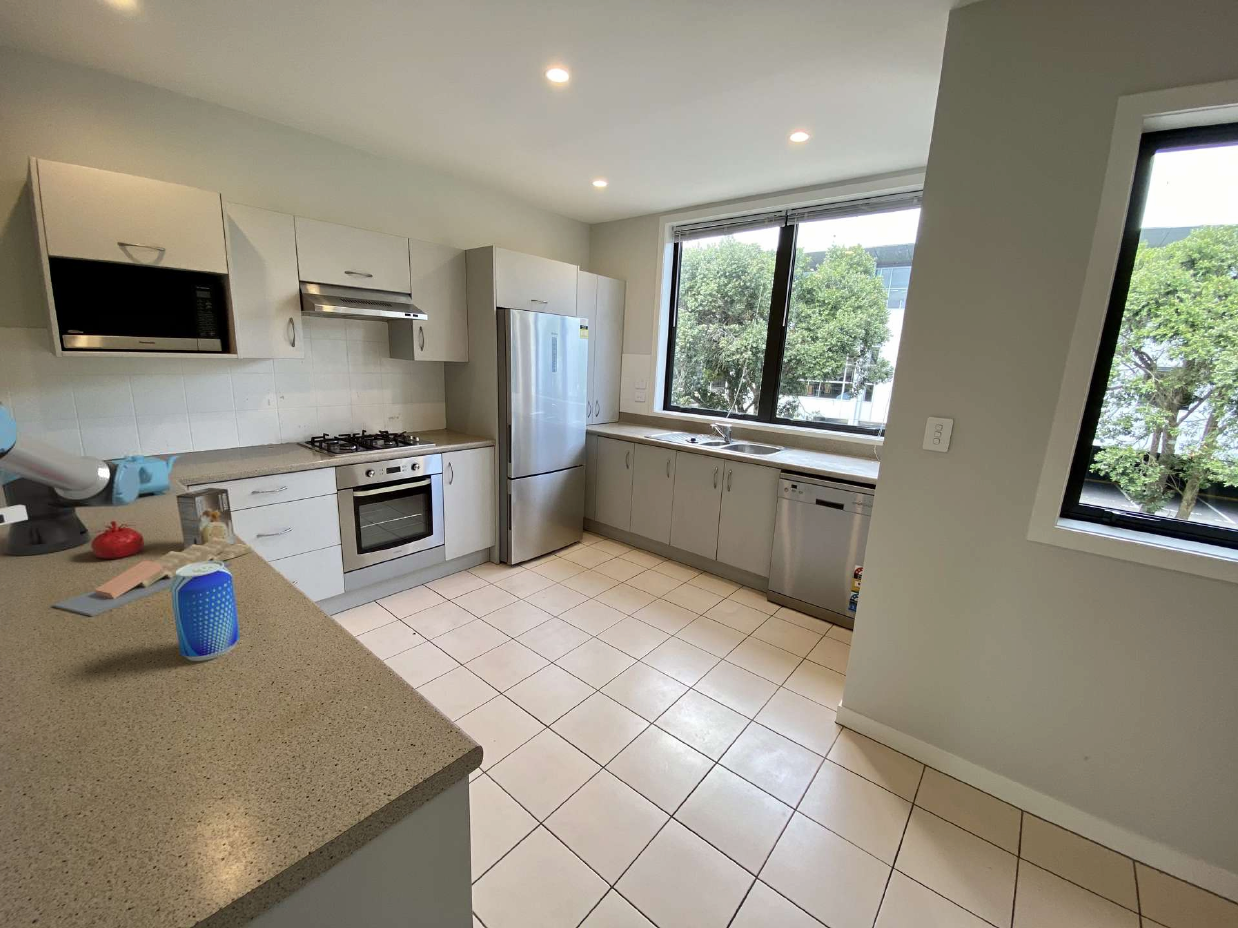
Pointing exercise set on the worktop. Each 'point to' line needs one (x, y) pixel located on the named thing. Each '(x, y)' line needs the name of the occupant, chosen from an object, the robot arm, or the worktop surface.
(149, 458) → the teakettle
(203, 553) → the tile
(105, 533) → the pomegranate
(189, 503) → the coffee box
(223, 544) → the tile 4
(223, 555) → the wooden block
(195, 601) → the beer can
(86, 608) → the slate board
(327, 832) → the worktop surface
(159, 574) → the tile
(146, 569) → the tile
